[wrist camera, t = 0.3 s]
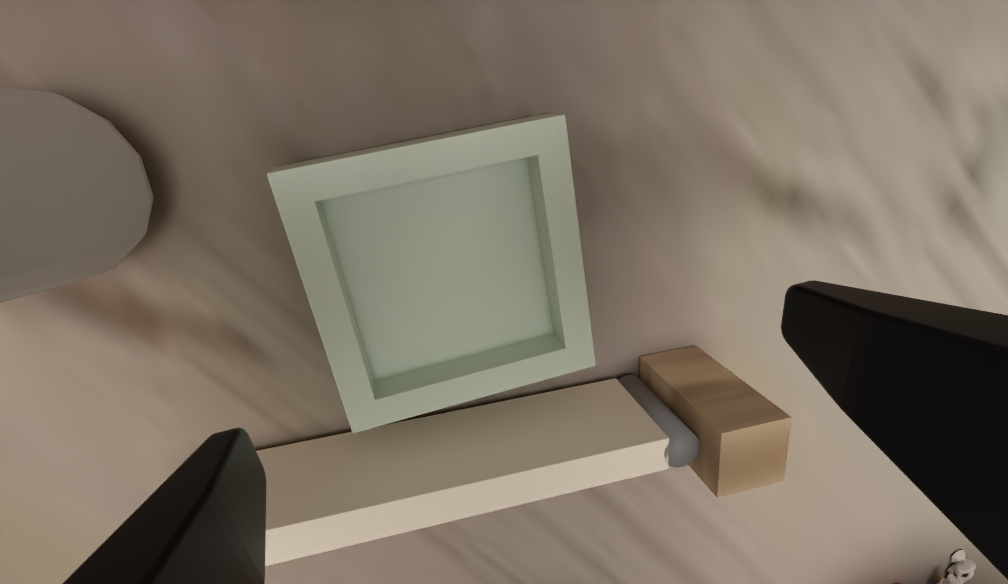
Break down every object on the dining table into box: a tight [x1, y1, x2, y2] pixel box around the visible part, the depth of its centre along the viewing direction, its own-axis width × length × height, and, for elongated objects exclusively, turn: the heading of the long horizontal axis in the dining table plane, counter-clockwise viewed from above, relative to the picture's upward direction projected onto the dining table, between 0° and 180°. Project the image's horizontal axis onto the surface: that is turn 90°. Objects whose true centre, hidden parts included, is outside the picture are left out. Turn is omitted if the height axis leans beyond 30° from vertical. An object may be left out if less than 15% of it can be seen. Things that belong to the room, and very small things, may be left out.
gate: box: [256, 375, 700, 566], centre depth 22 cm, size 2×20×5 cm, turn 96°
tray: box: [267, 113, 596, 433], centre depth 21 cm, size 10×10×2 cm
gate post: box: [640, 346, 792, 497], centre depth 24 cm, size 3×3×7 cm
